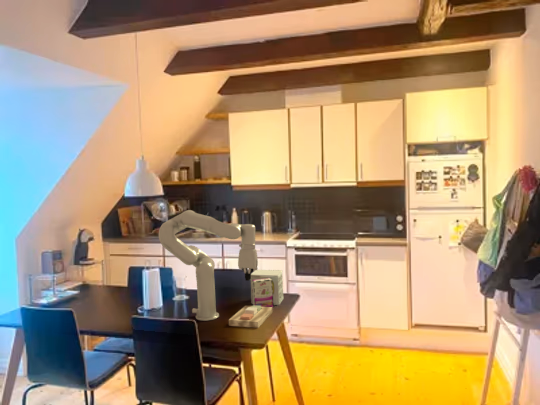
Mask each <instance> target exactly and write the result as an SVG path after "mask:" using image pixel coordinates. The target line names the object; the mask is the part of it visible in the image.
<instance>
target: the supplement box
mask: <svg viewBox="0 0 540 405" xmlns="http://www.w3.org/2000/svg"><path fill="white" fill-rule="evenodd" d="M265 278H270V279H272V287H273V306H280V305H281V303H282V302H283V300H284V285H283V284H284V283H283V282H284V279H283V270H282V269H281V270H280V269H257V270H255V271H252V272H251V279H250V298H251V299H250V301H251V303H250V304H251V305H253V290H252V280H257V279H265Z"/></svg>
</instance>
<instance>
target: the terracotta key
mask: <svg viewBox="0 0 540 405" xmlns="http://www.w3.org/2000/svg"><path fill="white" fill-rule="evenodd" d="M252 318H253V314H246V313H244V314H243V315H241V316H240V319H243V320H251V319H252Z"/></svg>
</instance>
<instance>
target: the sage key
mask: <svg viewBox="0 0 540 405" xmlns="http://www.w3.org/2000/svg"><path fill="white" fill-rule="evenodd" d="M251 306H252V307H255V308H257V311H260V310H261V306H256V305H253V304H252V305H251Z"/></svg>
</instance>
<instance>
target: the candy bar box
mask: <svg viewBox="0 0 540 405" xmlns="http://www.w3.org/2000/svg"><path fill="white" fill-rule="evenodd" d="M252 290H253V304H252V306H253V305H256V306H261V307H272V308H274V305H273V287H272V279H270V278H265V279H257V280H252Z"/></svg>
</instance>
